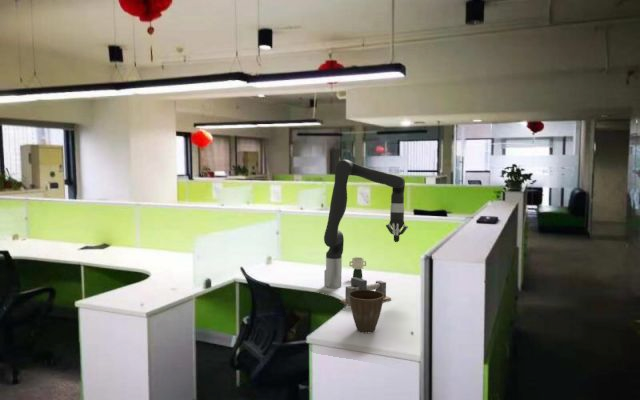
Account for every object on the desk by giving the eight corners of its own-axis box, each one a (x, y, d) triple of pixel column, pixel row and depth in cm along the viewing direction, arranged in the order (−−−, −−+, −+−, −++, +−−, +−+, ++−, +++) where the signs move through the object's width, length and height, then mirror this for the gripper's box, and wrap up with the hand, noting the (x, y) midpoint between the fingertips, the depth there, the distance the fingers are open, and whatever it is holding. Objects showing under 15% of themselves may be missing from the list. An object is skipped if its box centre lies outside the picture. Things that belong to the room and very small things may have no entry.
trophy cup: (364, 277, 307) (364, 257, 306) (367, 279, 300) (367, 259, 299) (348, 277, 305) (348, 257, 304) (350, 280, 298) (350, 259, 297)
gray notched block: (355, 293, 254) (355, 277, 253) (366, 297, 247) (366, 280, 246) (350, 294, 252) (351, 277, 252) (362, 298, 245) (362, 281, 244)
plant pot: (380, 338, 199) (380, 300, 198) (345, 334, 203) (345, 297, 202) (385, 326, 214) (385, 291, 212) (352, 323, 218) (353, 288, 216)
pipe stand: (375, 295, 265) (376, 279, 264) (391, 300, 255) (391, 283, 255) (340, 302, 250) (340, 285, 250) (355, 307, 241) (355, 290, 240)
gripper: (383, 211, 268) (382, 241, 269) (405, 212, 261) (404, 243, 262) (389, 210, 274) (388, 239, 275) (410, 211, 267) (410, 242, 268)
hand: (396, 241), depth 269 cm, fingers closed
